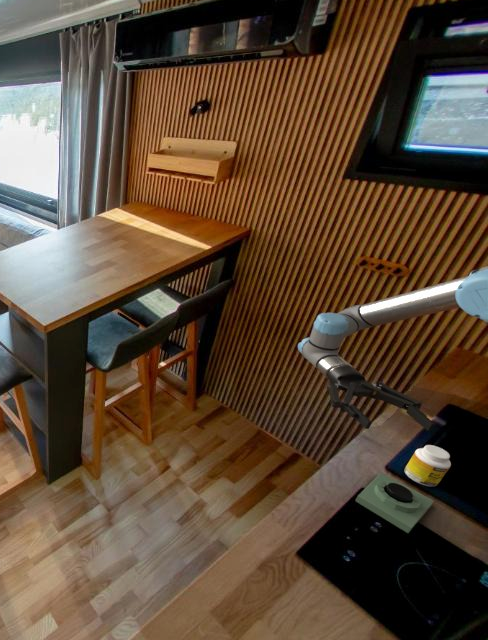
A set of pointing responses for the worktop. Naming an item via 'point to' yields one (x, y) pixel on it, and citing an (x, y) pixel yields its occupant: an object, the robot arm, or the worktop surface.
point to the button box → (393, 503)
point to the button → (399, 492)
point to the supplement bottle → (428, 465)
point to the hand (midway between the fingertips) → (399, 426)
